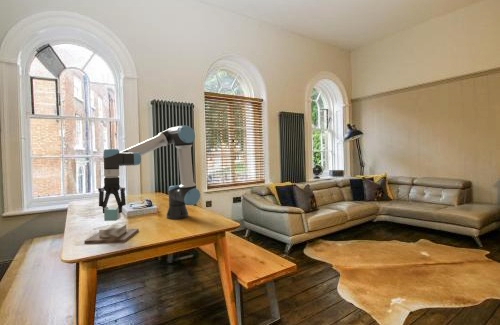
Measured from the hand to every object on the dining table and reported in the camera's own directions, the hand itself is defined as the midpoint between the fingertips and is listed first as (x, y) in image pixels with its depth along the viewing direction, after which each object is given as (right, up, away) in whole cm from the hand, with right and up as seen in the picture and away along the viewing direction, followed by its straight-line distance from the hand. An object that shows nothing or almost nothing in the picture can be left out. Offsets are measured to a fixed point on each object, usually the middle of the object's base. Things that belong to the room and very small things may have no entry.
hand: (112, 218), depth 146 cm
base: (0, -10, 0) cm, 10 cm away
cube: (0, 0, 0) cm, 0 cm away
